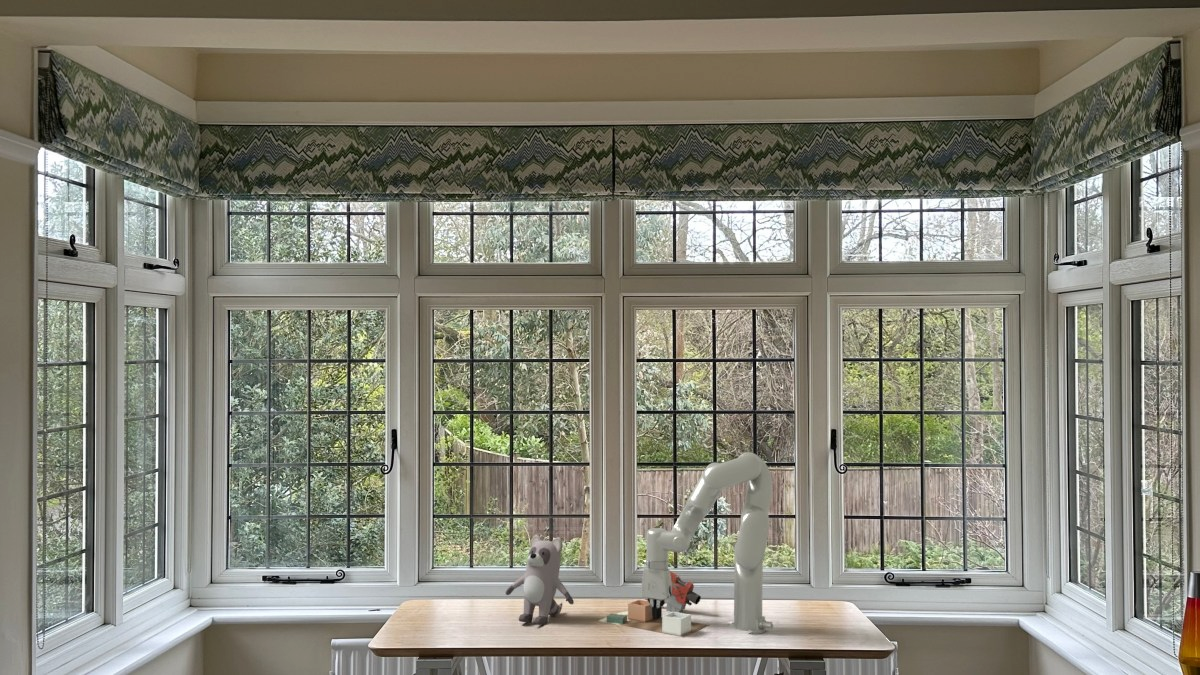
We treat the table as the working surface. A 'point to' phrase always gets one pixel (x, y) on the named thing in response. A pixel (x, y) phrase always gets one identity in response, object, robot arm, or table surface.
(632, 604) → the peach open cubby box
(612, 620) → the tin
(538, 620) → the toy
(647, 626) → the board
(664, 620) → the white open cubby box
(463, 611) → the table surface
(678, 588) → the toy gun
